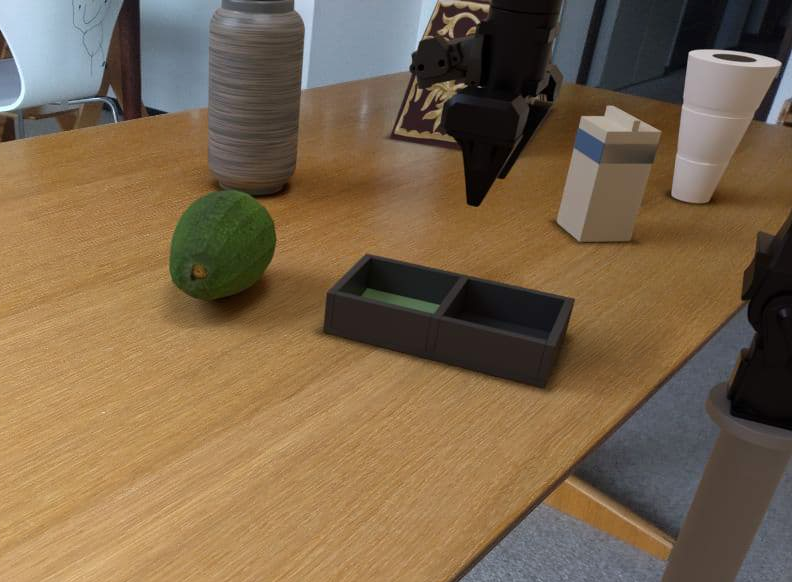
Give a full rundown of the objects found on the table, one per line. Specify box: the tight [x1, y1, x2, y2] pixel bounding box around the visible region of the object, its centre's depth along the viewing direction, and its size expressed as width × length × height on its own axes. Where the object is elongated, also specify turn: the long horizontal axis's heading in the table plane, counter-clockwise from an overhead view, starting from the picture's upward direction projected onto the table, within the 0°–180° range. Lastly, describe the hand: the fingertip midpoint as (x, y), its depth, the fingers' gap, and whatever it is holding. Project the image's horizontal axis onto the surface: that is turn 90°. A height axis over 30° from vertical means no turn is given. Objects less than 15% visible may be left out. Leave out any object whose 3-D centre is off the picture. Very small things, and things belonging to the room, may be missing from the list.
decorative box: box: [389, 0, 553, 151], centre depth 143 cm, size 35×19×20 cm, turn 155°
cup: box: [670, 49, 782, 204], centre depth 115 cm, size 11×11×18 cm
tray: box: [322, 253, 576, 389], centre depth 81 cm, size 20×11×4 cm, turn 64°
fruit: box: [168, 190, 278, 301], centre depth 85 cm, size 15×10×10 cm, turn 158°
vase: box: [207, 0, 306, 196], centre depth 110 cm, size 12×12×23 cm
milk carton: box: [556, 105, 662, 243], centre depth 103 cm, size 6×7×14 cm
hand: (486, 191), depth 81 cm, fingers open, 9 cm apart
